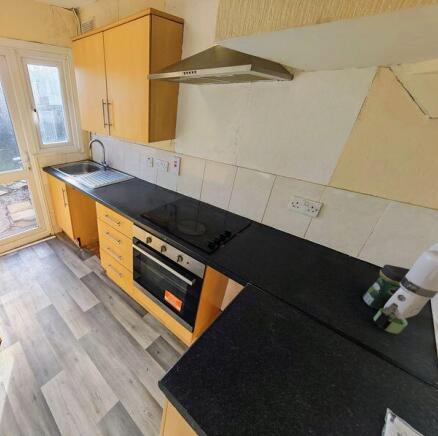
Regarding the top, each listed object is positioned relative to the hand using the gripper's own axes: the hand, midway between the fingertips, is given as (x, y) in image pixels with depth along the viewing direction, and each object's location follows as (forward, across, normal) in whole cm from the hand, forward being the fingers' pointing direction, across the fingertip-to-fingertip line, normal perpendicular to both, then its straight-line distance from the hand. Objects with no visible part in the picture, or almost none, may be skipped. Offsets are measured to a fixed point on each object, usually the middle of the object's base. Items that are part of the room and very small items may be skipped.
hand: (387, 323), depth 80 cm
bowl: (+1, 0, 0) cm, 1 cm away
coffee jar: (+3, +11, +9) cm, 14 cm away
